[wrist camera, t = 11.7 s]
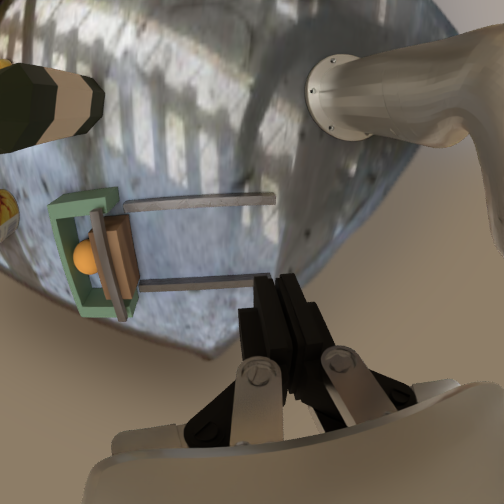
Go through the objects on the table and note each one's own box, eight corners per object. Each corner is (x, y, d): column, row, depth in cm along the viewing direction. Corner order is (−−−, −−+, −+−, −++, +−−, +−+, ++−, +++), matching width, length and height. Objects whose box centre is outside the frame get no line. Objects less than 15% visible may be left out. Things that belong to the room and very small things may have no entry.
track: (273, 192, 37) (275, 195, 35) (269, 279, 43) (271, 285, 42) (126, 200, 34) (122, 204, 33) (141, 286, 40) (139, 292, 39)
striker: (125, 193, 33) (108, 210, 27) (143, 293, 41) (135, 321, 35) (99, 196, 33) (79, 213, 27) (120, 293, 40) (109, 321, 34)
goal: (117, 186, 33) (105, 197, 29) (138, 297, 41) (132, 317, 37) (63, 194, 32) (47, 205, 27) (90, 298, 40) (81, 316, 36)
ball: (101, 231, 36) (100, 244, 32) (108, 260, 38) (109, 277, 34) (71, 238, 34) (67, 252, 30) (79, 267, 36) (77, 284, 32)
